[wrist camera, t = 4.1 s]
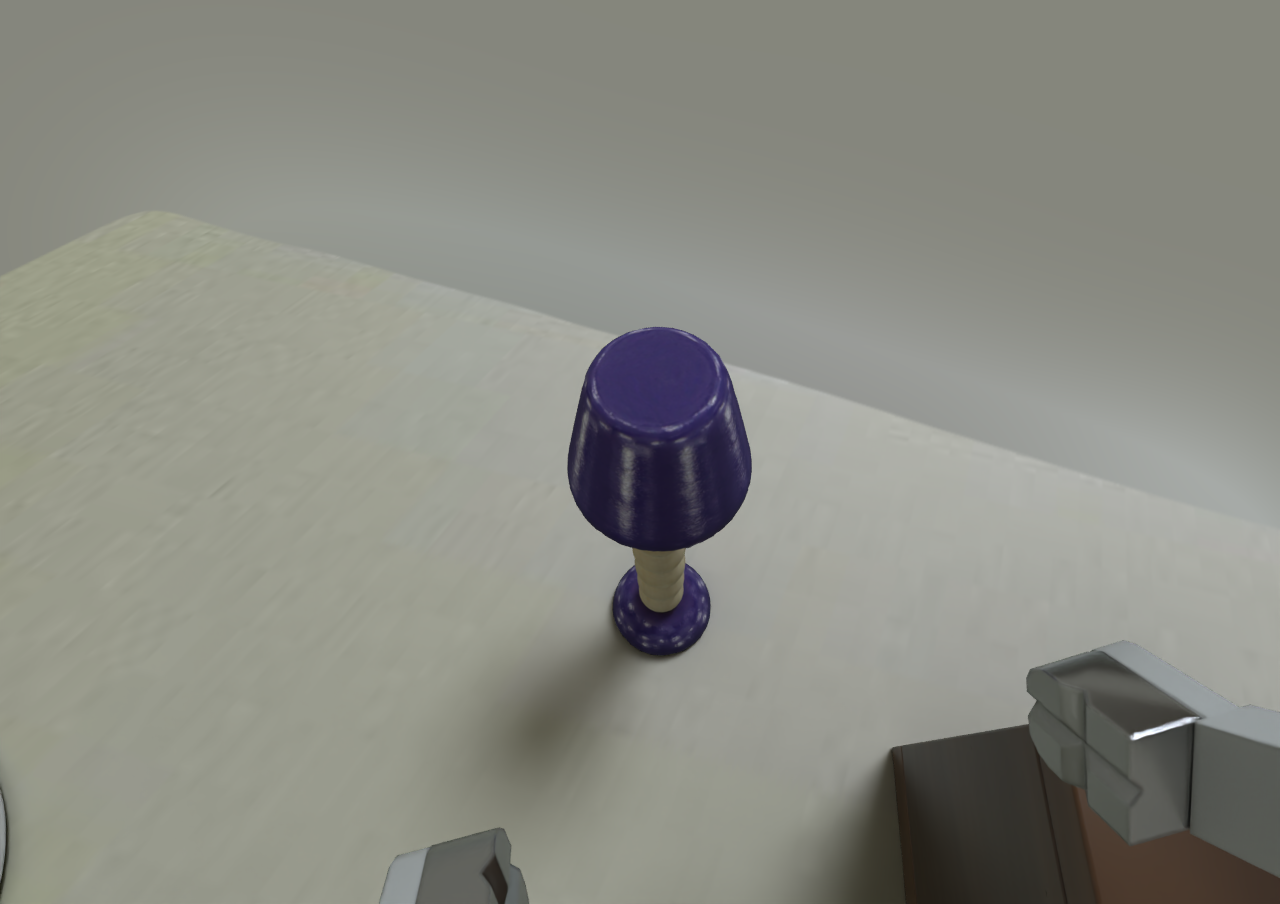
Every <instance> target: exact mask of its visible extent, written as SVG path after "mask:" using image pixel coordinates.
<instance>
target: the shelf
mask: <svg viewBox="0 0 1280 904" xmlns="http://www.w3.org/2000/svg"><path fill="white" fill-rule="evenodd" d="M892 753H893V764H894V775H895V786H896V797H897V808H898V819H899V830H900V841H901V851H902V862H903V873H904V884H905V895H906V904H1280V878H1279V877H1277V876H1275V875H1273V874H1271V873H1269V872H1267V871H1265V870H1263V869H1261V868H1259V867H1257V866H1255V865H1253V864H1250V863H1248V862H1246V861H1244V860H1242V859H1240V858H1238V857H1236V856H1234V855H1232V854H1230V853H1228V852H1226V851H1224V850H1222V849H1220V848H1218V847H1216V846H1214V845H1212V844H1210V843H1208V842H1206V841H1204V840H1202V839H1200V838H1198V837H1196V836H1194V835H1192V834H1190V830H1187V831H1183V832H1180V833H1176V834H1173V835H1169V836H1166V837H1162V838H1159V839H1155V840H1151V841H1148V842H1144V843H1141V844H1137V845H1134V846H1129V845H1128V844H1127V843H1126V842H1125V841H1124V840H1123V839H1122V838H1121V837H1120V836H1119V835H1117V834H1116V833H1115V832H1114V831H1113V830H1112V829H1111V828H1110V827H1109V826H1108V825H1107V824H1106V823H1105V822H1104V821H1103V820H1102V819H1101V818H1100V817H1099V816H1098V815H1097V814H1096V813H1095V812H1094V811H1093V810H1092V809H1091V808H1090V807H1088V803H1087V798H1086V792H1085V790H1083V789H1081V788H1078V787H1076V786H1073V785H1071V784H1068V783H1066V782H1064V781H1062V780H1061V779H1060V778H1059V777H1058V776H1057V775H1056V774H1055V773H1054V772H1053V771H1052V770H1051V769H1050V768H1049V767H1048V766H1047V764H1046V763H1045V762H1044V760H1043V759H1042V757H1041V756H1040V755H1039V753H1038V751H1037V749H1036V747H1035V744H1034V742H1033V740H1032V738H1031V735H1030V730H1029V724H1027V725H1021V726H1015V727H1009V728H1003V729H997V730H991V731H985V732H979V733H973V734H968V735H962V736H956V737H950V738H944V739H938V740H932V741H926V742H920V743H915V744H909V745H903V746H897V747H893V748H892Z"/></svg>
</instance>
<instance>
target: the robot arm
mask: <svg viewBox="0 0 1280 904" xmlns="http://www.w3.org/2000/svg"><path fill="white" fill-rule="evenodd" d="M1026 681H1027V692H1028V693H1029V694H1030V695H1031V696H1032V697H1033V698H1034V699H1036V700H1037V701H1036V703H1035V705H1034V706H1033V708H1032V710H1031V711H1030V713H1029V715H1028V720H1029V730H1030V735H1031V738H1032V740H1033V742H1034V744H1035V747H1036V749H1037V751H1038V753H1039V755H1040V756H1041V757H1042V759H1043V760H1044V762H1045V763H1046V764H1047V766H1048V767H1049V768H1050V769H1051V770H1052V771H1053V772H1054V773H1055V774H1056V775H1057V776H1058V777H1059V778H1060V779H1061V780H1062V781H1064V782H1066V783H1068V784H1071V785H1073V786H1076V787H1078V788H1081V789H1083V790H1085V792H1086V798H1087V803H1088V807H1090V808H1091V809H1092V810H1093V811H1094V812H1095V813H1096V814H1097V815H1098V816H1099V817H1100V818H1101V819H1102V820H1103V821H1104V822H1105V823H1106V824H1107V825H1108V826H1109V827H1110V828H1111V829H1112V830H1113V831H1114V832H1115V833H1116V834H1117V835H1119V836H1120V837H1121V838H1122V839H1123V840H1124V841H1125V842H1126V843H1127V844H1128V845H1129V846H1134V845H1137V844H1141V843H1144V842H1148V841H1151V840H1155V839H1159V838H1162V837H1166V836H1169V835H1173V834H1176V833H1180V832H1183V831H1187V830H1190V834H1192V835H1194V836H1196V837H1198V838H1200V839H1202V840H1204V841H1206V842H1208V843H1210V844H1212V845H1214V846H1216V847H1218V848H1220V849H1222V850H1224V851H1226V852H1228V853H1230V854H1232V855H1234V856H1236V857H1238V858H1240V859H1242V860H1244V861H1246V862H1248V863H1250V864H1253V865H1255V866H1257V867H1259V868H1261V869H1263V870H1265V871H1267V872H1269V873H1271V874H1273V875H1275V876H1277V877H1279V878H1280V712H1276V711H1273V710H1269V709H1265V708H1261V707H1257V706H1254V705H1247V706H1243V707H1238V706H1237V705H1235V704H1233V703H1232V702H1230V701H1228V700H1227V699H1225V698H1224V697H1222V696H1220V695H1219V694H1217V693H1215V692H1214V691H1212V690H1211V689H1209V688H1207V687H1206V686H1204V685H1202V684H1201V683H1199V682H1197V681H1196V680H1194V679H1193V678H1191V677H1189V676H1188V675H1186V674H1184V673H1183V672H1181V671H1179V670H1178V669H1176V668H1175V667H1173V666H1171V665H1170V664H1168V663H1166V662H1165V661H1163V660H1162V659H1160V658H1158V657H1157V656H1155V655H1153V654H1152V653H1150V652H1148V651H1147V650H1145V649H1144V648H1142V647H1140V646H1139V645H1137V644H1135V643H1132V642H1128V641H1124V640H1122V641H1119V642H1116V643H1113V644H1110V645H1106V646H1103V647H1100V648H1097V649H1094V650H1092V651H1090V652H1084V653H1081V654H1078V655H1075V656H1071V657H1068V658H1065V659H1062V660H1058V661H1055V662H1052V663H1049V664H1045V665H1042V666H1039V667H1036V668H1032V669H1030V671H1029V673H1028V675H1027V677H1026ZM5 847H6V818H5V810H4V803H3V799H2V794H1V790H0V881H1V877H2V871H3V865H4V857H5ZM510 859H511V844H510V841H509V839H508V837H507V834H506V832H505V830H504V829H503V828H500V827H499V828H495V829H491V830H488V831H484V832H480V833H476V834H473V835H469V836H465V837H462V838H458V839H454V840H450V841H447V842H443V843H439V844H435V845H432V846H431V847H428V848H424V849H420V850H416V851H413V852H409V853H405V854H401V855H397V856H396V858H395V859H394V861H393V862H392V863H391V865H390V867H389V869H388V873H387V876H386V880H385V883H384V887H383V890H382V894H381V897H380V901H379V904H529V898H528V894H527V890H526V885H525V881H524V879H523V876H522V873H521V870H520V869H519V868H517V867H515V866H514V865H512V864H510Z"/></svg>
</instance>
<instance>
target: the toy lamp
mask: <svg viewBox="0 0 1280 904" xmlns="http://www.w3.org/2000/svg"><path fill="white" fill-rule="evenodd" d="M751 472H752V460H751V452H750V447H749V443H748V439H747V435H746V431H745V427H744V423H743V420H742V416H741V412H740V408H739V404H738V401H737V398H736V395H735V392H734V388H733V384H732V381H731V378H730V376H729V373H728V371H727V369H726V367H725V365H724V363H723V362H722V360H721V358H720V356H719V355H718V354H717V353H716V352H715V351H714V350H713V349H712V348H711V347H710V346H709V345H708V344H707V343H706V342H704V341H703V340H701V339H699V338H698V337H696V336H694V335H692V334H690V333H688V332H685V331H682V330H678V329H674V328H665V327H651V328H644V329H639V330H635V331H632V332H628V333H626V334H624V335H622V336H620V337H618V338H616V339H614V340H613V341H611V342H610V343H609V344H607V345H606V346H605V347H604V348H603V349H602V350H601V351H600V352H599V353H598V354H597V356H596V357H595V359H594V360H593V362H592V363H591V365H590V367H589V369H588V371H587V373H586V376H585V380H584V384H583V387H582V391H581V395H580V400H579V404H578V408H577V413H576V418H575V422H574V427H573V432H572V437H571V442H570V446H569V453H568V479H569V485H570V489H571V492H572V495H573V497H574V500H575V502H576V505H577V506H578V508H579V509H580V511H581V512H582V514H583V516H584V517H585V518H586V519H587V521H588V522H589V523H590V524H591V525H592V526H593V527H594V528H596V529H597V530H598V531H600V532H602V533H603V534H604V535H605V536H607V537H608V538H610V539H612V540H614V541H616V542H617V543H619V544H621V545H625V546H628V547H632V549H633V554H634V557H635V565H634V566H633V567H632V568H631V569H629V570H628V571H627V573H626V574H625V575H624V576H623V577H622V579H621V580H620V582H619V584H618V586H617V588H616V591H615V594H614V600H613V615H614V619H615V622H616V625H617V627H618V629H619V630H620V632H621V634H622V635H623V637H624V638H626V640H627V641H628V642H629V643H630V644H631V645H632V646H634V647H635V648H637V649H638V650H640V651H643V652H645V653H648V654H651V655H669V654H673V653H678V652H681V651H684V650H685V649H687V648H688V647H690V646H691V645H693V644H694V643H695V642H696V641H697V640H698V639H699V638H700V637H701V635H702V634H703V632H704V630H705V629H706V627H707V624H708V621H709V617H710V596H709V593H708V590H707V587H706V585H705V583H704V581H703V580H702V578H701V577H700V575H699V574H698V573H697V572H696V571H695V570H694V569H693V568H692V567H690V566H689V565H687V564H686V563H685V555H684V554H685V549H686V548H689V547H691V546H693V545H695V544H697V543H701V542H703V541H705V540H707V539H708V538H710V537H712V536H714V535H715V534H716V533H717V532H719V531H720V530H722V529H723V528H724V527H725V526H726V525H727V524H728V523H729V522H730V521H731V520H732V519H733V517H734V516H735V514H736V513H737V511H738V510H739V508H740V507H741V505H742V503H743V501H744V500H745V497H746V494H747V491H748V487H749V484H750V480H751Z"/></svg>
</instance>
